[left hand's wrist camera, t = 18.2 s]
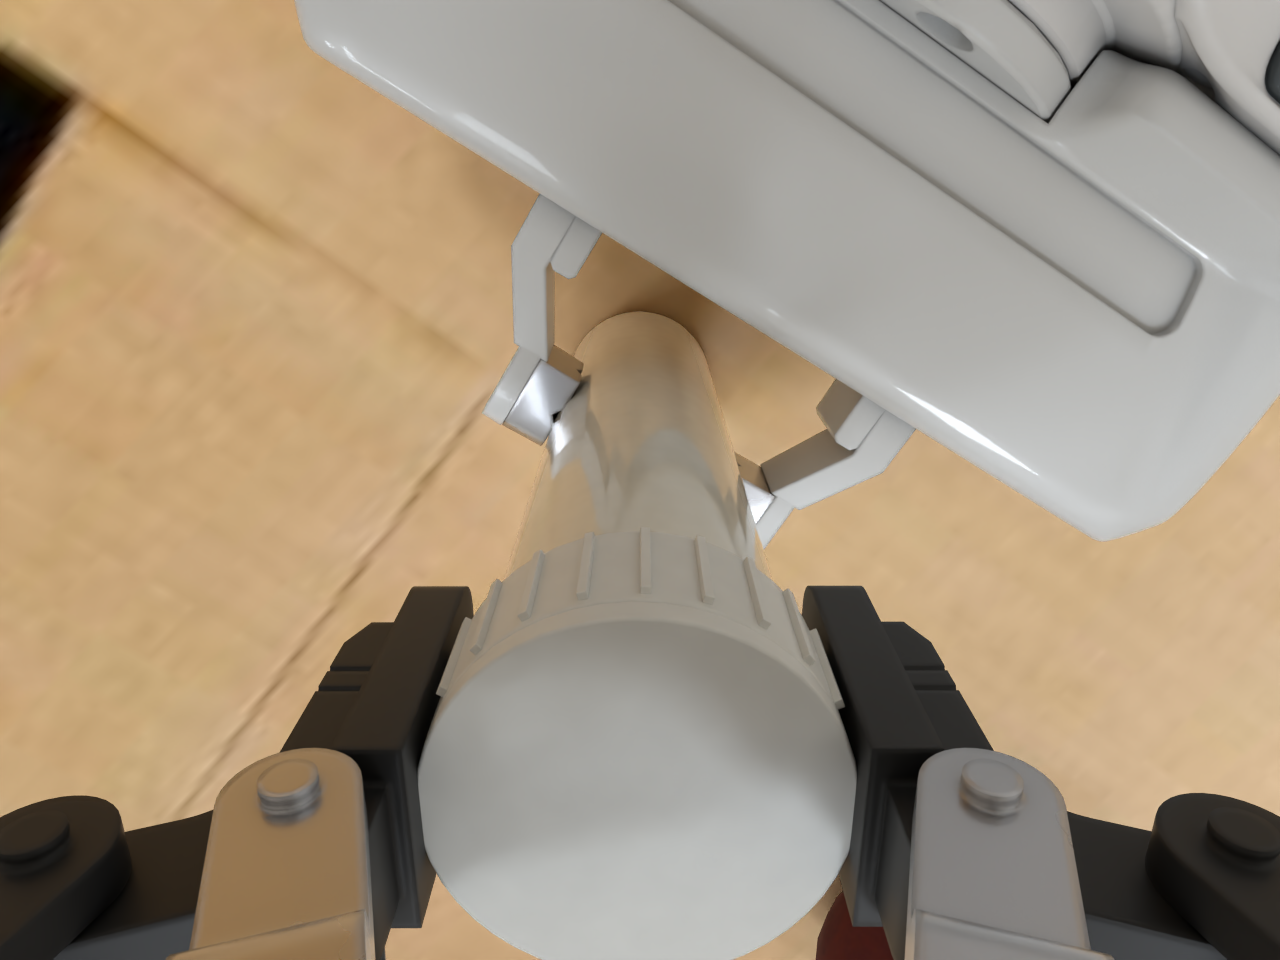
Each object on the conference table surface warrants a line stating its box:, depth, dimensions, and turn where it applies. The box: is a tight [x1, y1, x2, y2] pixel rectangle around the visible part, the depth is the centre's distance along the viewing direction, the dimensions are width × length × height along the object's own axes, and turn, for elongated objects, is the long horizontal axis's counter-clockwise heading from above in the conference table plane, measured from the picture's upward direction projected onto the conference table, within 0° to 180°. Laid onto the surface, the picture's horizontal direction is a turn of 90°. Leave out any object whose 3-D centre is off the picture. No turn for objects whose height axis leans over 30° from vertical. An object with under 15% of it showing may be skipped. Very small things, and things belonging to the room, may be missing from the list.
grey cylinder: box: [503, 312, 773, 581], centre depth 18 cm, size 4×4×17 cm
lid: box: [417, 527, 857, 960], centre depth 10 cm, size 5×5×2 cm
